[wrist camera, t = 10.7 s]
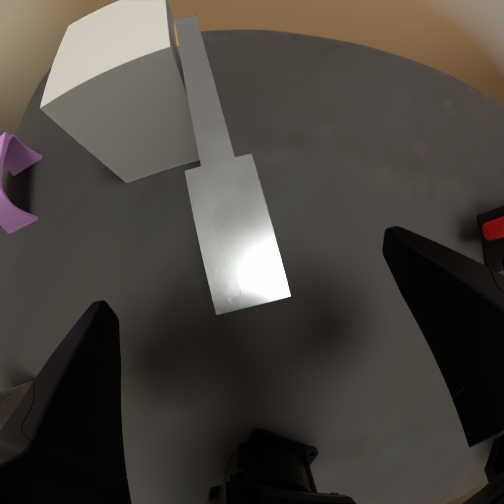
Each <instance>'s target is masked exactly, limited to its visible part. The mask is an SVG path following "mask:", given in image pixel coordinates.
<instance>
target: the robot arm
mask: <svg viewBox="0 0 504 504" xmlns="http://www.w3.org/2000/svg"><path fill="white" fill-rule="evenodd" d="M382 250H383V256H384V258H385V260H386V262H387V264H388V266H389V268H390V270H391V273H392V275H393V277H394V279H395V281H396V283H397V286H398V288H399V290H400V292H401V294H402V296H403V298H404V300H405V301H406V303H407V305H408V307H409V309H410V310H411V312H412V314H413V316H414V318H415V320H416V321H417V323H418V325H419V327H420V329H421V331H422V333H423V335H424V337H425V339H426V341H427V343H428V345H429V347H430V349H431V351H432V353H433V355H434V357H435V360H436V362H437V364H438V366H439V368H440V371H441V373H442V375H443V377H444V380H445V382H446V384H447V387H448V389H449V392H450V394H451V397H452V398H453V402H454V405H455V407H456V410H457V413H458V415H459V418H460V421H461V424H462V427H463V430H464V433H465V436H466V439H467V442H468V445H469V447H473V446H475V445H477V444H479V443H481V442H483V441H485V440H487V439H489V438H491V437H493V436H495V435H496V434H498V433H500V432H502V431H503V432H502V433H501V434H499V435H498V436H497V437H496V438H495V439H494V441H493V445H492V448H491V451H490V455H489V458H488V461H487V464H486V467H485V469H484V470H485V473H486V476H487V479H488V482H489V483H488V484H487V485H486V486H485V487H484V488H483V489H481V490H480V491H479V492H477V493H476V494H475V495H473V496H472V497H471V498H469V499H468V500H467V501H466V502H464V503H463V504H504V275H502V274H500V273H498V272H496V271H494V270H492V269H491V268H488V267H487V266H485V265H483V264H481V263H479V262H477V261H475V260H473V259H471V258H469V257H467V256H465V255H462V254H460V253H458V252H456V251H454V250H452V249H450V248H448V247H445V246H443V245H441V244H439V243H437V242H434V241H432V240H430V239H428V238H425V237H423V236H421V235H418V234H416V233H414V232H411V231H409V230H406V229H404V228H401V227H399V226H394V227H390V228H387V229H386V230H385V233H384V241H383V249H382ZM257 433H260V434H261V435H259V436H258V435H256V434H257ZM311 452H314V453H313V454H310V453H311ZM317 455H318V451H317V449H316V448H313V447H310V446H306V445H303V444H300V443H297V442H294V441H291V440H288V439H286V438H283V437H280V436H277V435H275V434H272V433H269V432H267V431H264V430H262V429H255V430H254V431H253V432H252V434H251V435H250V436H249V438H248V439H247V441H246V442H245V443H244V444H240V445H239V446H238V447H237V449H236V450H235V451H234V453H233V454H232V456H231V457H230V458H229V460H228V461H227V466H226V469H225V472H224V473H225V477H224V482H223V484H222V485H220V486H216V487H211V489H210V491H209V494H208V498H207V502H206V504H356V503H355V502H354V501H353V499H352V498H351V497H348V496H345V495H339V494H338V493H330V494H326V493H317V490H316V486H315V483H314V480H313V476H312V473H311V470H310V466H309V465H310V464H311V463H312V461H313V460H314V459H315V458H316V456H317ZM0 504H131V499H130V493H129V487H128V480H127V474H126V466H125V457H124V447H123V435H122V417H121V355H120V335H119V320H118V317H117V316H116V314H115V313H114V312H113V310H112V309H111V308H110V306H109V305H108V304H107V302H106V301H104V300H101V301H96V302H93V303H92V304H91V305H90V307H89V308H88V309H87V310H86V311H85V313H84V314H83V315H82V316H81V318H80V319H79V320H78V321H77V322H76V324H75V325H74V326H73V328H72V329H71V330H70V331H69V333H68V334H67V335H66V337H65V338H64V339H63V340H62V342H61V343H60V344H59V346H58V347H57V348H56V350H55V351H54V352H53V354H52V355H51V357H50V358H49V359H48V361H47V362H46V364H45V365H44V366H43V368H42V369H41V371H40V372H39V374H38V375H37V376H36V378H35V381H33V382H32V384H31V385H30V387H29V388H28V390H27V391H26V393H25V394H24V396H23V397H22V399H21V400H20V402H19V403H18V405H17V406H16V407H15V409H14V410H13V412H12V413H11V415H10V416H9V417H8V419H7V420H6V422H5V423H4V425H3V426H2V428H1V429H0Z"/></svg>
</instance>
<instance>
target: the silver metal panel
mask: <svg viewBox="0 0 504 504" xmlns="http://www.w3.org/2000/svg"><path fill="white" fill-rule="evenodd" d="M175 25H176V31H177V38H178V44H179V50H180V57H181V63H182V68H183V74H184V80H185V86H186V91H187V97H188V102H189V108H190V113H191V118H192V123H193V128H194V134H195V139H196V144H197V149H198V153H199V158H200V163H201V166H200V167H196V168H193V169H189V170H186V171H185V175H186V180H187V186H188V191H189V196H190V201H191V206H192V211H193V216H194V221H195V226H196V230H197V235H198V240H199V244H200V249H201V253H202V257H203V262H204V266H205V270H206V275H207V279H208V283H209V287H210V291H211V295H212V299H213V303H214V307H215V311H216V315H218V314H222V313H227V312H231V311H235V310H239V309H243V308H247V307H251V306H255V305H259V304H263V303H267V302H271V301H275V300H279V299H282V298H286V297H290V292H289V288H288V284H287V280H286V276H285V272H284V269H283V265H282V261H281V257H280V253H279V250H278V246H277V242H276V239H275V235H274V231H273V228H272V224H271V220H270V217H269V213H268V209H267V206H266V202H265V199H264V195H263V192H262V188H261V185H260V181H259V178H258V174H257V171H256V167H255V164H254V161H253V157H252V154H247V155H243V156H239V157H234V153H233V150H232V146H231V142H230V138H229V135H228V131H227V127H226V124H225V120H224V116H223V112H222V109H221V105H220V101H219V98H218V94H217V90H216V87H215V83H214V79H213V76H212V72H211V69H210V65H209V61H208V58H207V54H206V50H205V47H204V43H203V40H202V36H201V33H200V29H199V25H198V22H197V19H196V15H194V16H189V17H186V18H182V19H179V20H175Z"/></svg>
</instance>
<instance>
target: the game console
mask: <svg viewBox="0 0 504 504" xmlns="http://www.w3.org/2000/svg"><path fill="white" fill-rule="evenodd" d="M478 220H479V222H480V225H481V230H482V235H483V241H484V252H485V258H486V266H487V267H488V268H491V269H492V270H494V271H496V272H500V271H504V205H503V206H501V207H498V208H496V209H493V210H491V211H488V212H486V213H483V214H480V215H478Z"/></svg>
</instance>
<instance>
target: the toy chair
mask: <svg viewBox="0 0 504 504" xmlns="http://www.w3.org/2000/svg"><path fill="white" fill-rule="evenodd" d="M42 158H43V155H41V154H39V153H37V152H35V151H33V150H31V149H29V148H28V147H26V146H25V145H24V144H23V143H21V141H20V140H19V139H18V138H17V137H16V136H15V135H13V134H12V135H9V134H8V133H6V132H5V133H4V134H3V135H1V136H0V225H1V226H2V227H3V228H4V229H5V230H6V232H7V233H8V234H10V233H12V232H14V231H16V230H18V229H20V228H22V227H24V226H26V225H29V224H31V223H33V222H35V221H37V220H38V216H35V215H33V214H30V213H27V212H25V211H23V210H21V209H19V208H17V207H16V206H15V205H13V204H12V203H11V201H10V200H9V199H8V197H7V196H6V194H5V193H4V191H3V188H2V176H3V165H4V164H5V165H6V166H7V167H8V168H9V170H10V172H11V174H12V175H13V176H15V175H16V174H18V173H19V172H21V171H23V170H24V169H26V168H27V167H29V166H31V165H32V164H34V163H36V162H37V161H39V160H41V159H42Z"/></svg>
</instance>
